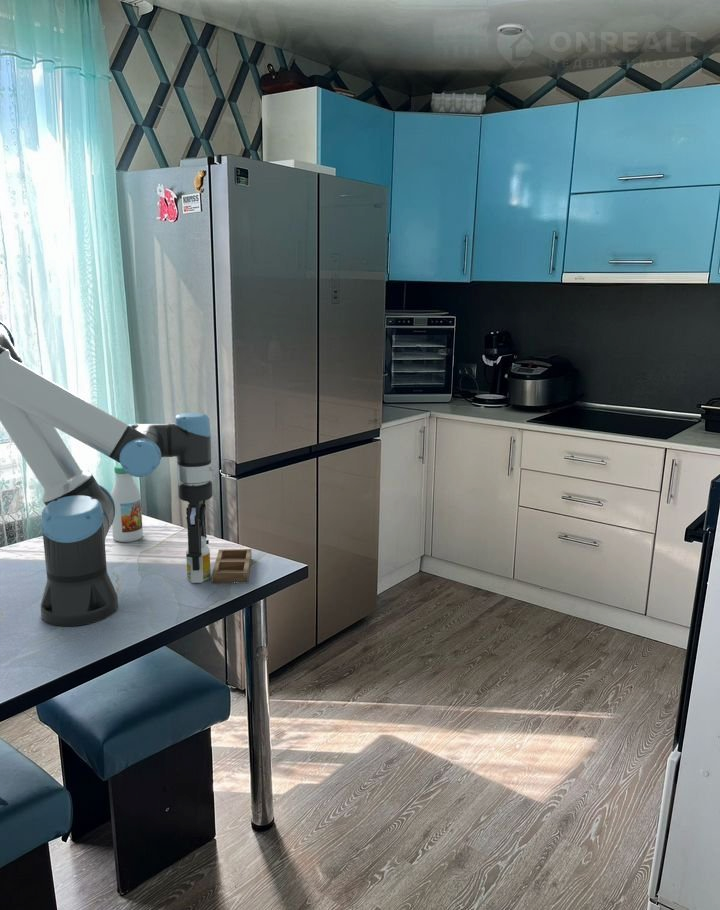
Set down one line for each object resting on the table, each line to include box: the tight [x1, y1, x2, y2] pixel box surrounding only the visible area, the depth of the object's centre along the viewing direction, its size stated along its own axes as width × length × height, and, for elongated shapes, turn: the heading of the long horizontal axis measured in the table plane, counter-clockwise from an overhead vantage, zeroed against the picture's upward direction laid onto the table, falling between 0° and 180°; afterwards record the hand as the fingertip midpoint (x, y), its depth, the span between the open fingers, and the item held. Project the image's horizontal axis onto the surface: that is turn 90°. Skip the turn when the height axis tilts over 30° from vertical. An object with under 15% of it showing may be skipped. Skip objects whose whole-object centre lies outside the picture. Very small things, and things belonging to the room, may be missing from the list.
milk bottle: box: [110, 464, 144, 543], centre depth 192 cm, size 8×8×20 cm
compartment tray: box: [211, 548, 253, 585], centre depth 173 cm, size 15×8×2 cm, turn 5°
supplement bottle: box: [185, 536, 212, 582], centre depth 168 cm, size 5×5×10 cm
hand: (199, 576), depth 169 cm, fingers closed on supplement bottle, 5 cm apart
